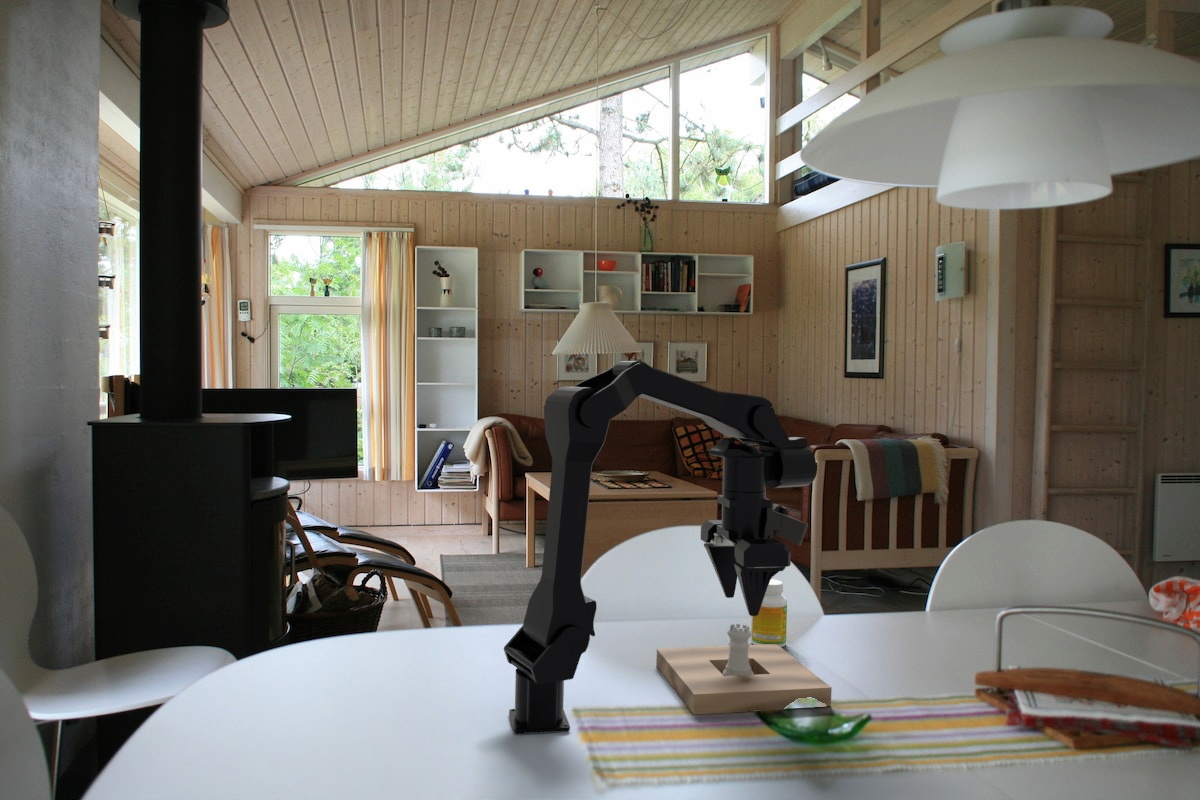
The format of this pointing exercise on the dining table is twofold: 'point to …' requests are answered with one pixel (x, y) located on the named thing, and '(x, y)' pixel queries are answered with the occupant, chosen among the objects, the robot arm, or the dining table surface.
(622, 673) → the dining table surface
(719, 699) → the socket block
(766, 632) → the supplement bottle
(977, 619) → the dining table surface
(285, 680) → the dining table surface
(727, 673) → the rook chess piece
